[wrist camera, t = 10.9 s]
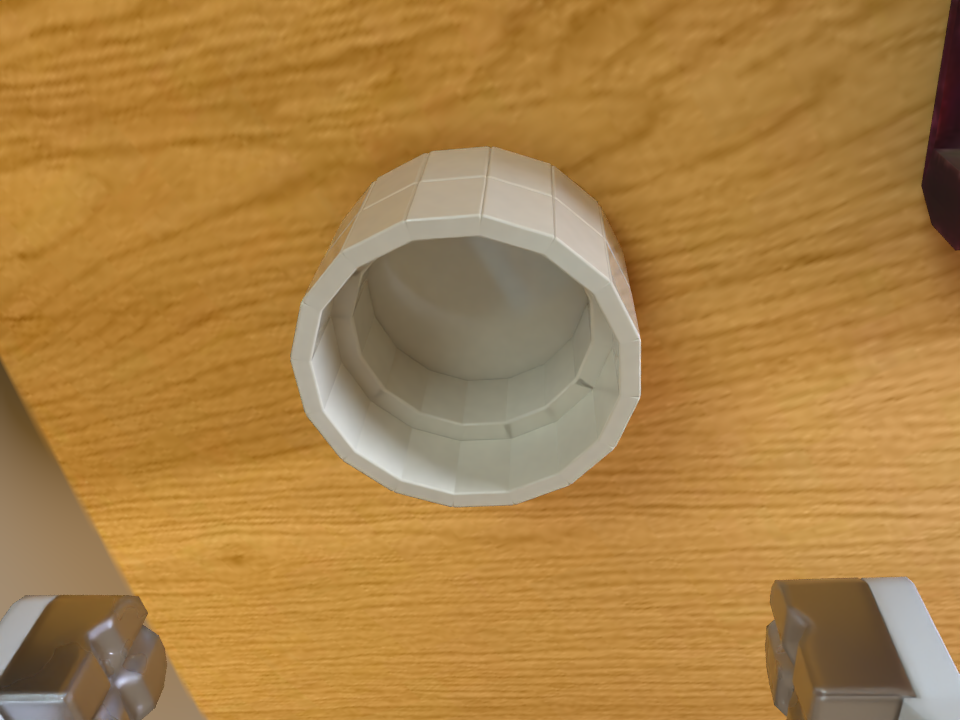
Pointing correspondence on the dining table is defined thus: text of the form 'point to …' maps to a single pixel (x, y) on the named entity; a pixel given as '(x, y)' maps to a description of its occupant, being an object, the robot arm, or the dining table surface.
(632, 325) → the bowl
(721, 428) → the dining table surface
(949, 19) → the book
